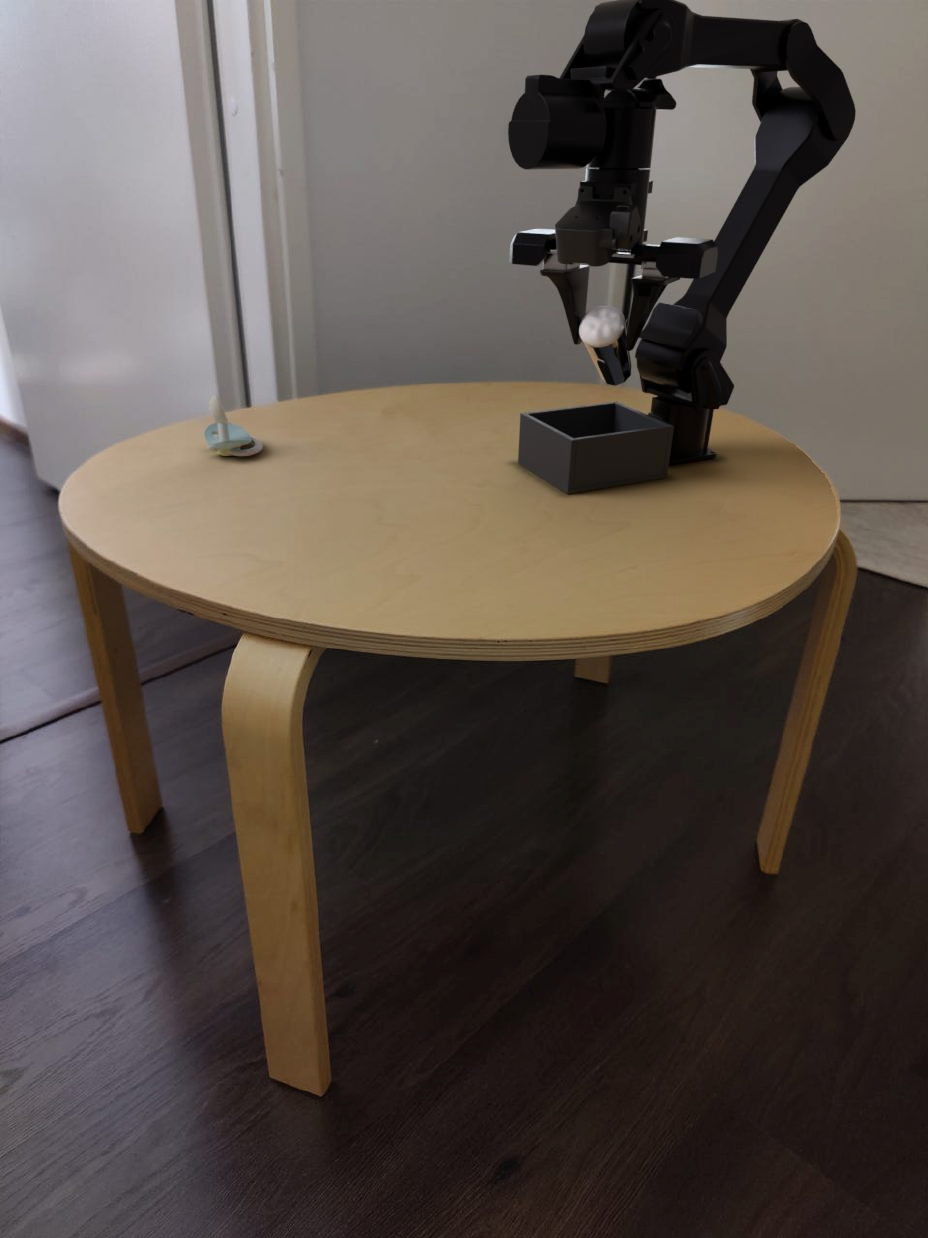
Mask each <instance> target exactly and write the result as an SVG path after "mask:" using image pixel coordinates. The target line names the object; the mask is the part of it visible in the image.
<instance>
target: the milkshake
mask: <svg viewBox="0 0 928 1238" xmlns="http://www.w3.org/2000/svg"><path fill="white" fill-rule="evenodd" d="M629 317H630V315H627V319H625V315H624V313H623V312H622V311H621V310H620V309H619V308H617V307H615V306H611V305H605V304H603V305H597V306H594V307H593V308H592V309H590V310H589V311H586V314H585V315H584V317H583V318H582V320H581V323H580V326H579V335H580V338H581V339H582V343H583V345H584V347H585V348H586V350H587V352H588V354H589V356H590V358H591V360H592V362H593V364H594V366H595V368H596V370H597V372H598V374H599V376H600V378H601V379H602V380H603V382H604V383H605V384H606V385H609V386H613V387H617V386H620V385H622V384H625V383H626V382H627V381H628V379H629V378H630V377H631V376H632V360H631V355H630V353H631V352H630V351H626V335H627V322H628V321H629Z"/></svg>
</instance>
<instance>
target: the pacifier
mask: <svg viewBox="0 0 928 1238" xmlns="http://www.w3.org/2000/svg"><path fill="white" fill-rule="evenodd" d="M208 409H209V413H210V415H211V417H212V419H213V420H214V421H215V422H213V423H211V424H209V425H208V426H207V427H206V428H205V430H204V433H203V436H204V439H205V441H206V443H207V444H209V445H207V449H211V450H216V451H217V454H218V455H220V456H224V457H229V456H236V457H247V456H253V455H257V454H258V453H260V452H261V451H262V450H263V442H261V440H260V439H258V438H257V437H254V436H251V435H250V434H249V432H248V431H247V430H246V429H245V428H243V427H242V426H240V425H239V424H236V423H232V422H230V421H229V420H228V416H227V413H226V411H225V408H224V406H223V403H222V402H221V399H220V398H219V396H218V395H217V394H215V395H213V396H211V398H210V400H209V402H208ZM213 435H216V436H213ZM248 444H250V445H252V447H250V448H246V449H242V448H241V447H243V446H245V445H248Z"/></svg>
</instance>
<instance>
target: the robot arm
mask: <svg viewBox="0 0 928 1238" xmlns="http://www.w3.org/2000/svg"><path fill="white" fill-rule="evenodd" d="M687 68H703V69H704V68H707V69H736V70H737V69H738V70H739V69H740V70H750V73H751V75H752V77H753V85H752V94H751V95H752V96H751V105H752V107H753V110H754V111H755V114H756V116H757V118H758V120H759V122H760V123H759V125H758V128H757V131H756V133H755V136H754V166H753V168H752V171H751V173H750V174H749V176H748V177H747V180H746V182H745V184H744V186H743V187H742V189H741V191H740V193H739V195H738V197H737V199H736V200H735V202H734V204H733V205H732V207H731V209H730V210H729V211H730V212H729V213H728V214H727V217H726V218H725V220H724V222H723V225H722V226H721V228H720V229H719V232H718V233H717V235H716V237H715V238H714V239H713V238H697V237H696V238H694V237H681V236H680V237H679V236H676V237H673V238H669V239H665V240H661V242H660V244H652V243H651V244H649V243H645V242H648V235H649V229H645V225H646V216H647V209H648V208H647V207H648V199H649V194H653V188H654V187H653V185H654V180H650V178H651V168H652V158H653V148H654V138H655V129H656V117H657V111H673V110H675V109H676V107H677V101H676V99H675V98H674V96H673V95H672V94H671V93H670V92H669V91H668V90H667V88H666V87H665V85H664V82H663V79H661V78H656V77H661V76H664V75H669V74H672V73H677V72H679V71H682V70H684V69H687ZM778 72H787V73H788V74H789V77H790V78H791V79H792V81H793V82H795V83H796V84H797V85H798V86H789V87H786V88H783V87H782V84H781V82H780V80H779V77H778ZM638 85H639V86H638ZM637 86H638V87H637ZM606 92H608V93H607V94H606V95H605V93H606ZM856 110H857V109H856V104H855V102H854V99H853V96H852V93H851V91H850V88H849V85H848V82H847V80H846V76H845V74H844V72H843V70H842V69H841V68H840V67H839V65H838V64H836V63H835V61H833V60H832V59H831V58H830V56H829V55H827V53H826V52H824V50H823V49H822V48H821V47H820V46H819V45H818V43H817V40H816V38H815V35H814V32H813V30H812V28H811V26H810V24H809V23H808V22H805V21H803V20H802V19H800V18H792V19H783V20H772V19H771V20H770V19H757V18H743V17H742V18H741V17H730V16H729V17H728V16H727V17H726V16H713V15H702V14H699V13H697V12H694V11H692V10H691V8H690V7H689V6H688V5H687V4H686V3H684V2H682V1H678V0H611V1H604V2H600V3H599V4H597V5H596V6H595V7H594V9H593V11H592V13H591V14H590V16H589V17H588V19H587V22H586V25H585V28H584V33H583V36H582V37H581V39H580V41H579V43H578V45H576V48H575V50H574V52H573V53H572V55H571V57H570V58H569V60H568V61H567V64H566V65H565V67H564V69H563V71H562V73H561V74H560V76H559V77H557V76H555V75H551V74H532V75H531V74H529V75H527V76H526V77H525V79H524V92H523V94H522V95H521V96H520V97H519V98H518V100H517V101H516V103H515V105H514V108H513V110H512V114H511V119H510V120H509V122H508V125H507V126H508V128H507V136H508V137H507V138H508V139H507V140H508V146H509V150H510V153H511V156H512V159H513V160H514V162H515V164H516V165H517V166H518V167H519V168H521V169H523V170H579V169H580V170H581V169H583V168H585V180H582V181H579V186H578V189H577V198H576V202H575V204H574V206H572V207H569V209H568V210H566V212H565V213H564V214H563V215H562V217H560V219H558V221H557V222H556V223H555V224H554V229H551V228H550V229H549V228H534V229H527V230H522V231H517V232H516V233H515V235H514V236H513V238H512V239H511V242H510V244H509V264H511V265H519V266H529V267H537V266H540V265H541V264H543V265H542V269H539V270H538V271H539V274H540V276H542V277H546V278H548V279H549V280H550V281H551V283H552V284H553V285H554V286H555V288H556V289H557V290H556V291H557V292H558V294H559V297H560V300H561V303H562V305H563V310H564V313H565V317H566V319H567V325H568V327H569V332H570V335H571V338H572V342H573V344H574V345H576V346H578V345H580V344H582V343H583V341H582V339H581V338H580V335H579V326H580V323H581V320H582V318H583V317H584V315H585V314H586V313H587V305H588V304H587V303H588V291H589V278H590V267H593V268H595V267H596V268H597V267H603V266H605V265H607V264H621V265H632V266H634V265H635V266H640V270H641V274H640V275H637V276H635V277H631V280H630V281H631V288H632V298H631V299H632V300H631V305H630V311H629V317H628V324H627V328H626V333H627V335H626V351H629V352H631V351H633V350H634V348H635V346H636V344H637V342H638V341H639V339H640V341H639V342H638V345H637V347H636V350H635V353H634V358H635V359H636V369H637V371H638V374H639V381H640V386H641V392H642V393H643V394H650V395H652V396H653V397H652V398H651V404H650V405H651V406H650V411H649V412H648V413H647V415H649V416H651V417H654V418H656V419H658V420H660V421H663V422H665V423H667V424H670V425H672V426H674V430H673V437H672V444H671V452H670V459H669V465H670V464H671V465H677V464H683V463H689V462H694V461H700V460H707V459H713V458H714V459H715V458H717V456H718V455H717V454H718V452H717V451H715V450H713V449H710V448H709V443H710V436H711V431H712V423H713V417H714V412H715V410H720V407H722V406H727V405H728V404H729V401H730V399H731V396H732V394H733V392H734V389H735V384H734V382H733V381H732V378H731V377H730V376H729V374H728V373H727V371H726V369H725V368H724V366H723V364H722V363H721V361H722V358H723V357H724V354H725V352H726V350H727V347H728V341H727V340H728V338H727V337H728V336H727V335H728V334H727V333H728V330H727V327H728V326H727V325H728V324H727V323H728V322H727V319H728V316H729V314H730V312H731V310H732V308H733V307H734V305H735V303H736V301H737V300H738V298H739V296H740V294H741V293H742V290H743V289H744V287H745V285H746V283H747V281H748V280H749V278H750V276H751V274H752V273H753V270H754V269H755V267H756V265H757V263H758V262H759V260H760V258H761V256H762V255H763V253H764V251H765V249H766V248H767V246H768V244H769V242H770V240H771V239H772V237H773V235H774V234H775V231H776V230H777V228H778V226H779V225H780V222H781V221H782V219H783V217H784V216H785V213H786V211H787V209H788V208H789V206H790V204H791V202H792V201H793V199H794V197H795V196H796V193H797V192H798V191H799V189H800V188H801V187H802V186H803V185H804V184H806V183H807V182H809V181H810V180H811V179H813V177H815V176H816V175H817V174H819V173H821V171H824V169H825V168H827V167H828V166H829V165H830V164H831V162H832V161H833V160H834V158H835V156H837V154H838V152H840V150H841V148H842V147H843V145H844V144H845V143H846V141H847V140H848V138H849V137H850V134H851V132H852V131H853V127H854V124H855V121H856V115H857V114H856V112H857V111H856ZM542 262H543V263H542ZM681 279H690V280H692V281H691V283H690V284H689V287H688V288H687V290H686V292H685V293H684V295H683V296H682V297H681V298H679V299H677V301H675V302H674V303H672V304H670V303H666V302H662V301H660V302H659V300H660V297H661V296H662V294H663V293H664V291H665V290H666V289H667V286H668V285H669V284H673V283H674V282H678V281H680V280H681Z"/></svg>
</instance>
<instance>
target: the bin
mask: <svg viewBox="0 0 928 1238" xmlns="http://www.w3.org/2000/svg"><path fill="white" fill-rule="evenodd" d="M673 430H674V426H672V425H670V424H667V423H665V422H663V421H660V420H658V419H656V418H654V417H651V416H649V415H648V413H644V412H642V411H640V410H637V409H635V408H633V407H630V406H629V405H626V404H623V403H621V402H619V401H609V402H602V403H593V404H586V405H576V406H567V407H561V408H552V409H544V410H535V411H527V412H520V415H519V433H518V434H519V435H518V436H519V437H518V455H517V464H518V465H520V466H521V467H523V468H525V469H527V471H530V472H531V473H533V474H534V475H536V476H537V477H539V478H541V479H542V480H544V481H546V482H547V483H549V484H551V485H552V486H553V487H555V488H557V489H558V490H560V491H561V492H563V493H565V495H572V494H578V493H584V492H590V491H597V490H601V489H607V488H615V487H620V486H625V485H632V484H638V483H645V482H649V481H656V480H662V479H667V478H668V472H669V466H670V464H669V459H670V452H671V444H672V437H673Z"/></svg>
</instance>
